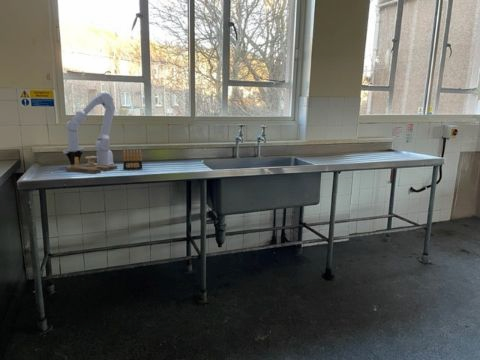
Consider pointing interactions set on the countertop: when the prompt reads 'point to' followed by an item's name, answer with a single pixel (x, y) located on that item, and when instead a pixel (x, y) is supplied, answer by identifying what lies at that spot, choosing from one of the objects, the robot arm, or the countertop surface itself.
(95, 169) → the notched board
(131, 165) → the ammunition clip
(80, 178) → the countertop surface
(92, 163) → the mushroom shaped handle
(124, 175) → the countertop surface
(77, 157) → the block
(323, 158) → the countertop surface
